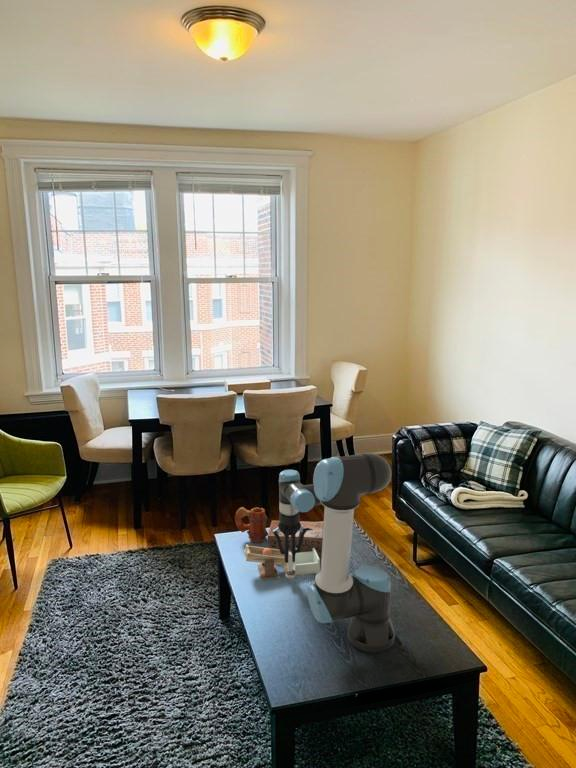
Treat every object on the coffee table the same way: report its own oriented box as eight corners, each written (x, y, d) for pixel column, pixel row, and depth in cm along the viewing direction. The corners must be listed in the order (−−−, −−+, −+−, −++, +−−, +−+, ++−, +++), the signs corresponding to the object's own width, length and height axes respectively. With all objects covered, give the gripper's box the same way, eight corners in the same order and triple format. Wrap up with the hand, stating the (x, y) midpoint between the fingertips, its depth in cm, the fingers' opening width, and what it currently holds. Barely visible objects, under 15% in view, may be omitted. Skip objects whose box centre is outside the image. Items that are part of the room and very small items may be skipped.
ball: (264, 550, 217) (262, 558, 218) (273, 551, 218) (271, 559, 218) (263, 545, 221) (261, 553, 221) (271, 547, 221) (269, 555, 222)
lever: (295, 578, 210) (297, 569, 210) (248, 572, 206) (250, 564, 206) (287, 557, 225) (289, 549, 225) (244, 552, 222) (246, 544, 221)
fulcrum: (278, 578, 217) (278, 561, 215) (260, 580, 216) (260, 562, 214) (274, 564, 227) (274, 548, 225) (257, 566, 226) (257, 549, 224)
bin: (319, 573, 220) (319, 559, 219) (293, 576, 218) (293, 562, 217) (314, 561, 229) (314, 547, 228) (288, 563, 227) (288, 550, 226)
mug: (269, 536, 251) (269, 504, 248) (267, 545, 243) (266, 512, 240) (237, 535, 252) (236, 503, 249) (234, 543, 244) (233, 511, 241)
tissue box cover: (267, 557, 233) (267, 535, 231) (272, 541, 247) (271, 520, 245) (330, 560, 230) (330, 538, 228) (330, 543, 244) (331, 522, 242)
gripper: (304, 505, 212) (304, 562, 217) (270, 508, 209) (271, 566, 214) (308, 514, 204) (308, 573, 209) (273, 517, 202) (274, 576, 207)
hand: (289, 569), depth 212 cm, fingers closed
